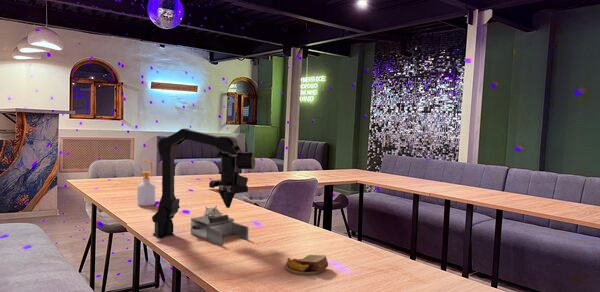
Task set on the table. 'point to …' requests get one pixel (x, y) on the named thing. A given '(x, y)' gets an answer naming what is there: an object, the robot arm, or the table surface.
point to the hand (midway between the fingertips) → (228, 207)
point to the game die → (211, 211)
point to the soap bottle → (146, 190)
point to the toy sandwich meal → (307, 265)
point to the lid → (212, 219)
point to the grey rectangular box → (219, 231)
